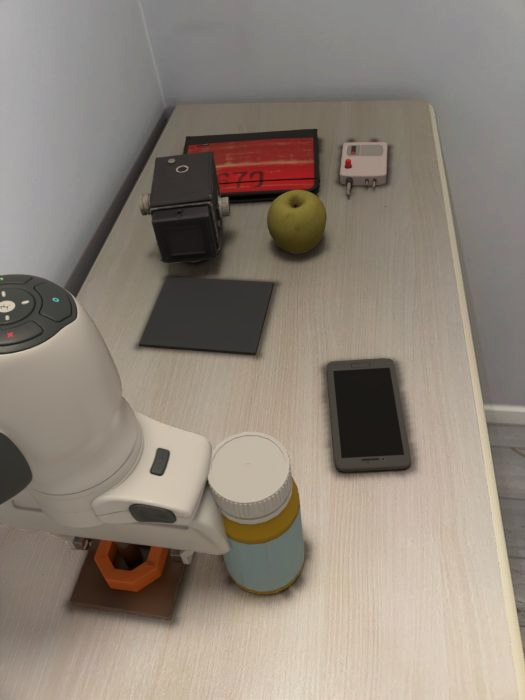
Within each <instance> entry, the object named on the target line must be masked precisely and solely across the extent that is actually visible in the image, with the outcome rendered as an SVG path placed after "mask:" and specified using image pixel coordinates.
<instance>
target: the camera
mask: <svg viewBox="0 0 525 700" xmlns="http://www.w3.org/2000/svg"><path fill="white" fill-rule="evenodd" d="M150 188H151V189H150V193H144V194H139V196H138V207H139V211H140V214H141V215H142V216H150V217H151V225H152V229H153V233H154V237H155V240H156V244H157V247H158V251H159V254H160V258H161V259H160V262H162V263H163V264H177V263H178V264H179V263H188V262H189V263H198V262H201V261H207V260H215V259H216V258H217V256H219V250H221V230H222V229H223V217H224V218H226V217H227V218H228V217H231V203H229V198H228V197H222V198H221V194H220V189H219V182H218V177H217V171H216V166H215V160H214V154H213V151H207V152H199V153H191V154H183V153H182V154H176V155H174V154H173V155H168V156H159V157H155V160H154V168H153V174H152V181H151V187H150Z"/></svg>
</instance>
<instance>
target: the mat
mask: <svg viewBox="0 0 525 700" xmlns="http://www.w3.org/2000/svg"><path fill="white" fill-rule="evenodd" d="M274 286H275V285H274V282H273V281H255V280H254V281H253V280H239V279H237V280H236V279H221V278H219V279H218V278H199V277H184V276H183V277H181V276H166V278H165V280H164V282H163V284H162V287H161V290H160V292H159V295H158V297H157V299H156V302H155V304H154V307H153V308H152V311H151V314H150V316H149V319H148V321H147V323H146V325H145V328H144V331H143V333H142V335H141V337H140V339H139V342H138V346H139V347H144V348H145V347H146V348H156V349H157V348H159V349H173V350H183V351H184V350H186V351H195V352H196V351H199V352H209V353H210V352H211V353H224V354H237V355H250V356H256V355H257V351H258V346H259V344H260V340H261V336H262V331H263V328H264V324H265V319H266V316H267V313H268V309H269V304H270V300H271V297H272V293H273V289H274Z"/></svg>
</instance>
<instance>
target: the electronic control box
mask: <svg viewBox="0 0 525 700" xmlns="http://www.w3.org/2000/svg"><path fill="white" fill-rule="evenodd" d="M387 169H388V142H385V141H383V142H382V141H363V142H361V141H360V142H359V141H355V142H344V143H343V144H342V151H341V160H340V169H339V183H340V184H341V185H343V186H346V195H347V196H349V195H350V191H351V187H356V186H357V187H372V188H374V189H375V188H376V186H383V185H385V184H386V183H387V174H388V173H387V172H388V171H387Z"/></svg>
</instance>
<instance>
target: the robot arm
mask: <svg viewBox="0 0 525 700" xmlns="http://www.w3.org/2000/svg"><path fill="white" fill-rule="evenodd" d="M212 451H213V447H212V443H211V441H210V439H209V438H208V437H206V436H204V435H202V434H199V433H196V432H192V431H189V430H185V429H182V428H180V427H176V426H173V425H170V424H167V423H164V422H161V421H158V420H156V419H155V418H152V417H150V416H148V415H147V414H144V413H141V412H139V411H136V410H134V409H133V408H132V405H131V404H130V403H129V402H128V400H127V399H126V398H125V397H124V396H123V385H122V379H121V376H120V374H119V370H118V368H117V365H116V363H115V361H114V359H113V356H112V355H111V352H110V349H109V348H108V345H107V344H106V341H105V339H104V337H103V336H102V333H101V332H100V330H99V328H98V326H97V324H96V323H95V321H94V319H93V318H92V317H91V315H90V314H89V312H88V311H87V309H86V308H85V307H84V306H83V304H82V303H81V302H80V301H79V300H78V299H77V297H75V296H74V295H73V294H72V293H71V292H70V291H69V290H67V289H66V288H64V287H63V286H61V285H60V284H58V283H57V282H54V281H52V280H49V279H47V278H45V277H41V276H38V275H32V274H25V273H8V274H0V524H2V525H4V526H6V527H8V528H10V529H15V530H21V531H22V530H23V531H30V532H39V533H47V534H49V535H52V536H54V537H56V538H58V539H59V540H62V541H63V542H66V543H67V545H68V546H69V548H70V549H71V550H77V551H86V552H88V550H89V548H90V545H91V542H92V539H100V540H108V541H116V542H124V543H131V544H139V545H147V546H155V547H163V548H171V549H172V550H171V553H170V556H171V558H172V559H173V562H177V563H183V564H185V565H191V563H192V561H193V556H194V553H195V552H196V553H201V554H210V555H216V556H221V555H222V556H223V554H225V553H227V552H229V551H230V550H231V549H232V548H231V545H230V542H229V539H228V536H227V534H226V531H225V525H224V520H223V514H222V513H221V511H220V509H219V505H218V504H217V503H216V501H215V499H214V498H213V495H212V493H211V490H210V487H209V484H208V480H207V477H208V472H209V466H210V460H211V453H212Z"/></svg>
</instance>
